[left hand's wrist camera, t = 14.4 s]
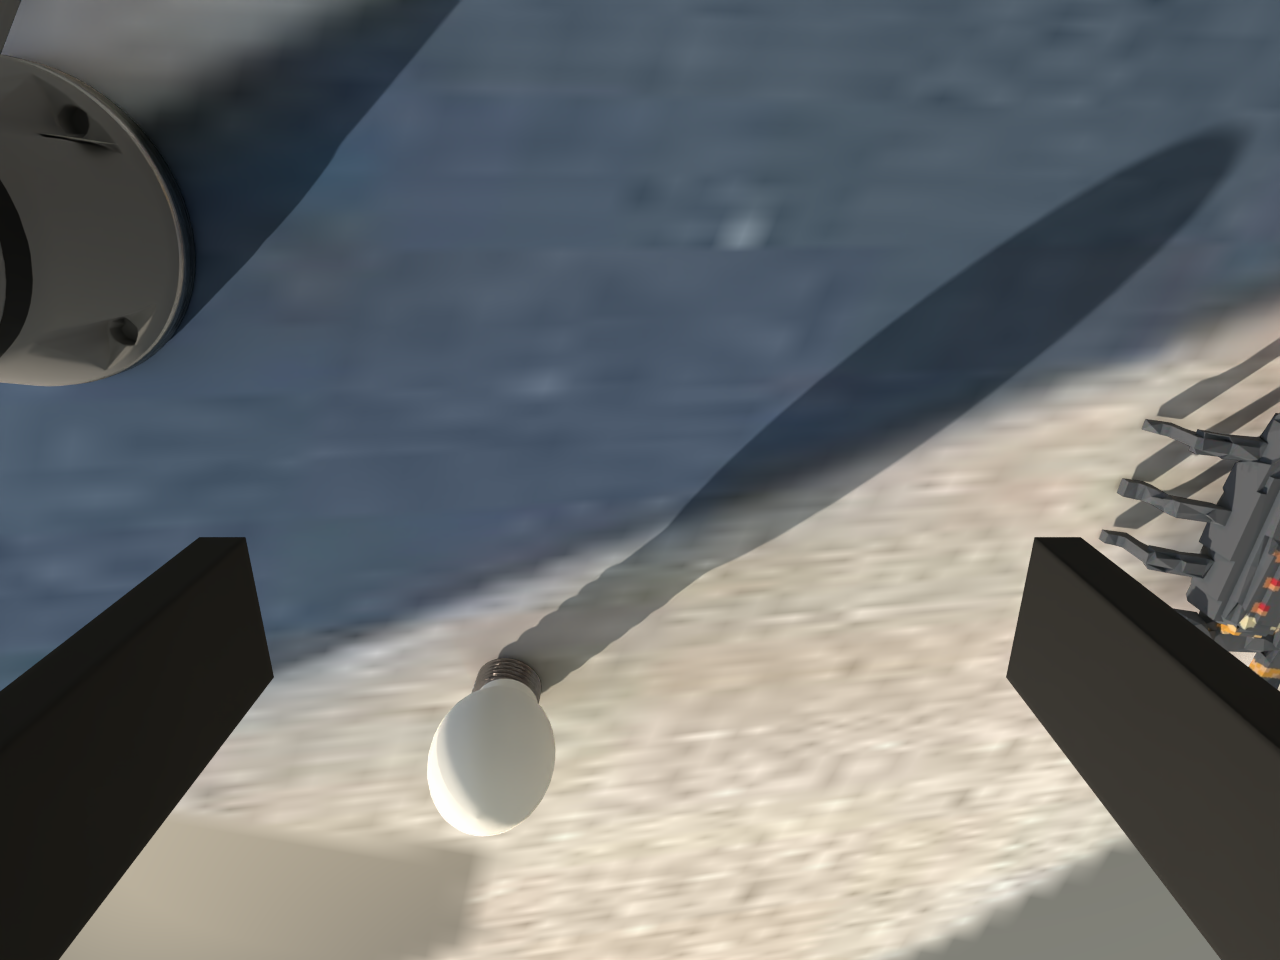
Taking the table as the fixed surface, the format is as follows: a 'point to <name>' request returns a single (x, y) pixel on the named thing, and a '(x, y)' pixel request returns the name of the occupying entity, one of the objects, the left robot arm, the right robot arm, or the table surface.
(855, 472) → the table surface
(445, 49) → the table surface
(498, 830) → the light bulb
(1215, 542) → the toy
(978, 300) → the table surface
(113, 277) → the left robot arm
